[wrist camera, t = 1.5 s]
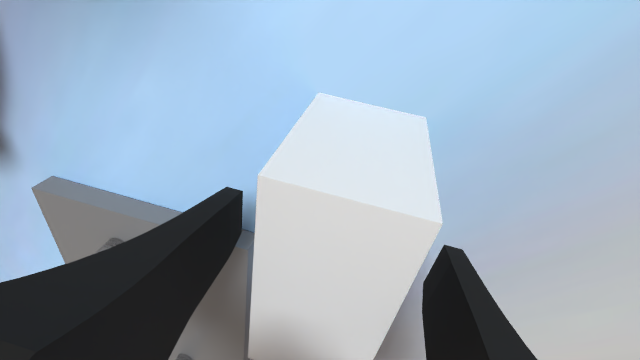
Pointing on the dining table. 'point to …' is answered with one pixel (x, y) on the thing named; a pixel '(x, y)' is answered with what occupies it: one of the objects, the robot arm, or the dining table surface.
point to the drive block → (340, 231)
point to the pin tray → (133, 220)
